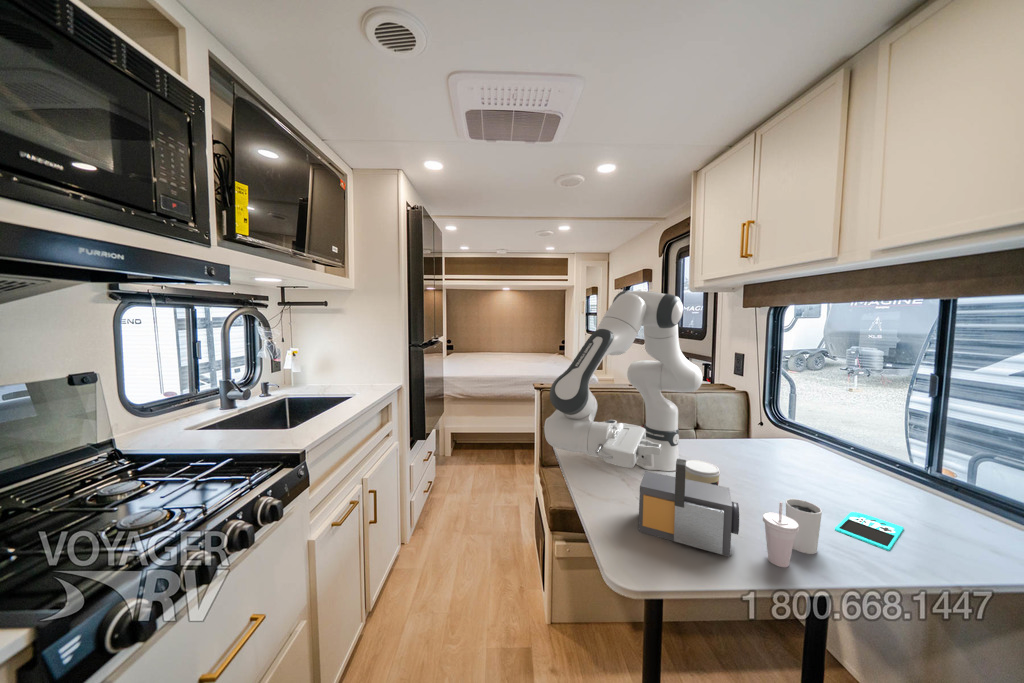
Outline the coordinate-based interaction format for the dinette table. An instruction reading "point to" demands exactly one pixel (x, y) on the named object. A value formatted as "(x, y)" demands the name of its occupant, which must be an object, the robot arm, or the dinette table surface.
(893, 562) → the dinette table surface
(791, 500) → the white cylindrical cup
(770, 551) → the smoothie
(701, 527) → the side door
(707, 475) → the coffee cup
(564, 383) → the robot arm
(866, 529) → the handheld game console
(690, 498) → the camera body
